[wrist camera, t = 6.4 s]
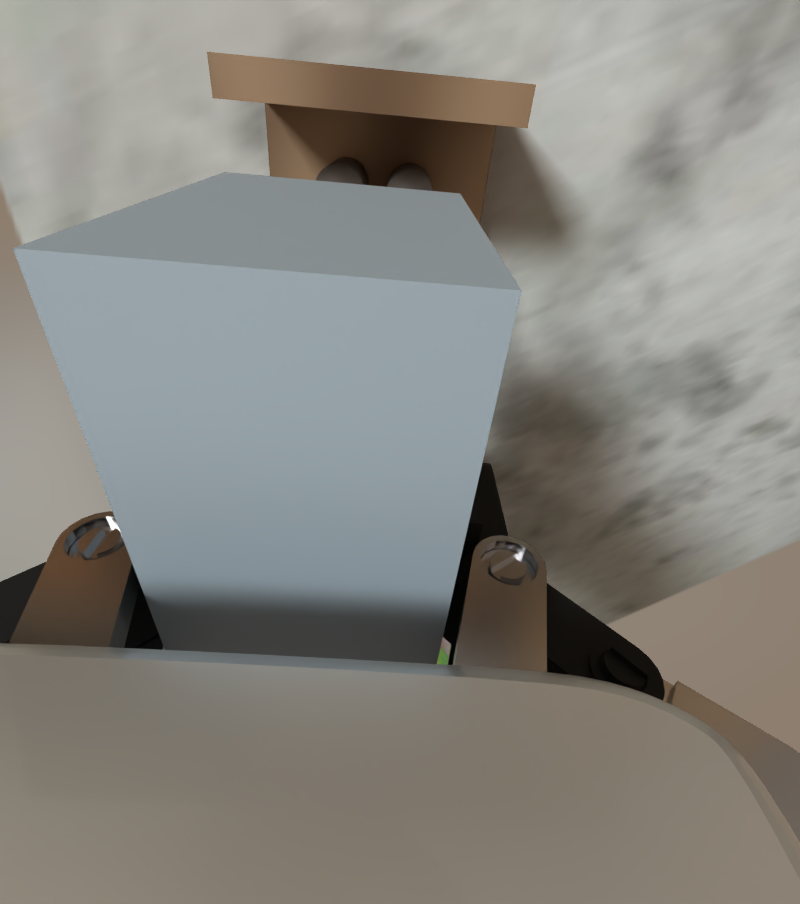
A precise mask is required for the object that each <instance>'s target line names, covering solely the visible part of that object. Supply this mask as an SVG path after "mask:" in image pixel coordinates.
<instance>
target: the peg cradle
mask: <svg viewBox="0 0 800 904" xmlns="http://www.w3.org/2000/svg"><path fill="white" fill-rule="evenodd" d="M207 55H208V63H209V71H210V79H211V87H212V95H213V98H219V99H229V100H240V101H250V102H260V103H265V110H266V124H267V138H268V152H269V166H270V176H272V177H283V178H294V179H305V180H316V181H327V182H338V183H349V184H360V185H371V186H382V187H393V188H404V189H415V190H426V191H438V192H449V193H460V194H461V196H462V197H463V199H464V200H465V202H466V204H467V205H468V207H469V208H470V210H471V211H472V213H473V215H474V216H475V218H476V219H477V221H478V222H479V224H480V220H481V213H482V207H483V201H484V195H485V189H486V183H487V177H488V170H489V164H490V158H491V152H492V146H493V140H494V134H495V127H496V125H499V126H509V127H520V128H528V122H529V117H530V112H531V107H532V102H533V97H534V92H535V87H536V85H534V84H524V83H514V82H504V81H494V80H484V79H474V78H464V77H454V76H444V75H434V74H424V73H414V72H404V71H394V70H384V69H374V68H364V67H354V66H344V65H334V64H324V63H314V62H304V61H294V60H284V59H274V58H264V57H254V56H244V55H234V54H224V53H214V52H207Z"/></svg>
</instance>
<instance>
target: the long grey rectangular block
mask: <svg viewBox="0 0 800 904" xmlns="http://www.w3.org/2000/svg"><path fill="white" fill-rule="evenodd" d="M13 249H14V252H15V255H16V257H17V260H18V262H19V265H20V268H21V271H22V273H23V276H24V278H25V281H26V284H27V286H28V289H29V291H30V294H31V297H32V300H33V302H34V305H35V308H36V310H37V313H38V316H39V318H40V321H41V323H42V326H43V329H44V331H45V334H46V337H47V339H48V342H49V345H50V347H51V350H52V353H53V355H54V358H55V360H56V363H57V366H58V368H59V371H60V374H61V376H62V379H63V382H64V384H65V387H66V389H67V392H68V395H69V397H70V400H71V403H72V405H73V408H74V411H75V413H76V416H77V419H78V421H79V424H80V427H81V429H82V432H83V434H84V437H85V440H86V442H87V445H88V448H89V450H90V453H91V456H92V458H93V461H94V463H95V466H96V469H97V472H98V474H99V477H100V479H101V482H102V485H103V487H104V490H105V493H106V495H107V498H108V500H109V503H110V506H111V508H112V511H113V514H114V516H115V519H116V522H117V524H118V527H119V530H120V532H121V535H122V538H123V540H124V543H125V546H126V548H127V551H128V553H129V556H130V559H131V561H132V564H133V567H134V569H135V572H136V575H137V577H138V580H139V583H140V585H141V588H142V590H143V593H144V596H145V598H146V601H147V604H148V606H149V609H150V612H151V614H152V617H153V620H154V622H155V625H156V627H157V630H158V633H159V635H160V638H161V641H162V643H163V646H164V649H165V650H179V651H199V652H219V653H239V654H259V655H278V656H297V657H316V658H336V659H354V660H371V661H389V662H407V663H424V664H437V660H438V656H439V652H440V647H441V643H442V638H443V634H444V630H445V625H446V621H447V616H448V612H449V608H450V603H451V599H452V594H453V590H454V586H455V581H456V577H457V573H458V568H459V564H460V559H461V555H462V551H463V546H464V542H465V537H466V533H467V529H468V524H469V520H470V515H471V511H472V507H473V502H474V498H475V493H476V489H477V485H478V480H479V476H480V471H481V467H482V463H483V458H484V454H485V449H486V445H487V441H488V436H489V432H490V427H491V423H492V419H493V414H494V410H495V405H496V401H497V397H498V392H499V388H500V383H501V379H502V375H503V370H504V366H505V361H506V357H507V353H508V348H509V344H510V339H511V335H512V331H513V326H514V322H515V317H516V313H517V309H518V304H519V300H520V295H521V291H522V290H521V289H520V287H519V286H518V284H517V282H516V281H515V279H514V278H513V276H512V275H511V273H510V271H509V270H508V268H507V267H506V265H505V263H504V262H503V260H502V259H501V257H500V256H499V254H498V252H497V251H496V249H495V248H494V246H493V245H492V243H491V241H490V240H489V238H488V237H487V235H486V234H485V232H484V230H483V229H482V227H481V226H480V224H479V222H478V221H477V219H476V218H475V216H474V215H473V213H472V211H471V210H470V208H469V207H468V205H467V204H466V202H465V200H464V199H463V197H462V196H461V194H460V193H449V192H438V191H426V190H415V189H404V188H393V187H382V186H371V185H360V184H349V183H338V182H327V181H316V180H305V179H294V178H283V177H272V176H261V175H250V174H239V173H228V172H224V173H221V174H218V175H216V176H213V177H210V178H207V179H205V180H202V181H199V182H196V183H193V184H191V185H188V186H185V187H182V188H180V189H177V190H174V191H171V192H168V193H166V194H163V195H160V196H157V197H154V198H152V199H149V200H146V201H143V202H141V203H138V204H135V205H132V206H129V207H127V208H124V209H121V210H118V211H115V212H113V213H110V214H107V215H104V216H102V217H99V218H96V219H93V220H90V221H88V222H85V223H82V224H79V225H77V226H74V227H71V228H68V229H65V230H63V231H60V232H57V233H54V234H51V235H49V236H46V237H43V238H40V239H38V240H35V241H32V242H29V243H26V244H24V245H21V246H18V247H15V248H13Z"/></svg>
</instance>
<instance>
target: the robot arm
mask: <svg viewBox="0 0 800 904" xmlns="http://www.w3.org/2000/svg"><path fill="white" fill-rule="evenodd" d="M443 637H444V638H445V639H446V640H447V641H448V642H449V643H450V649H449V655H448V660H447V665H442V664H424V663H407V662H389V661H371V660H354V659H336V658H316V657H297V656H278V655H259V654H239V653H219V652H199V651H179V650H165V649H164V646H163V643H162V641H161V638H160V635H159V633H158V630H157V627H156V625H155V622H154V620H153V617H152V614H151V612H150V609H149V606H148V604H147V601H146V598H145V596H144V593H143V590H142V588H141V585H140V583H139V580H138V577H137V575H136V572H135V569H134V567H133V564H132V561H131V559H130V556H129V553H128V551H127V548H126V546H125V543H124V540H123V538H122V535H121V532H120V530H119V527H118V524H117V522H116V519H115V516H114V514H113V511H112V512H111V511H109V512H102V513H97V514H94V515H91V516H88V517H85V518H83V519H81V520H79V521H77V522H75V523H74V524H72V525H70V526H69V527H68V528H67V529H66V530H65V531H63V532H62V533H61V535H60V536H59V537H58V539H57V540H56V542H55V544H54V546H53V548H52V551H51V553H50V555H49V557H48V559H47V562H45V563H42V564H40V565H38V566H36V567H33V568H31V569H29V570H27V571H24V572H22V573H19V574H17V575H15V576H13V577H10V578H8V579H6V580H3V581H1V582H0V904H800V753H798V752H797V751H796V750H794V749H793V748H792V747H790V746H789V745H787V744H785V743H783V742H782V741H780V740H778V739H776V738H775V737H773V736H771V735H770V734H768V733H766V732H764V731H763V730H761V729H759V728H758V727H756V726H754V725H753V724H751V723H749V722H747V721H746V720H744V719H742V718H740V717H739V716H737V715H735V714H733V713H732V712H730V711H728V710H727V709H725V708H723V707H722V706H720V705H718V704H716V703H715V702H713V701H711V700H710V699H708V698H706V697H704V696H703V695H701V694H699V693H697V692H696V691H694V690H692V689H691V688H689V687H687V686H685V685H684V684H681V683H680V682H679V681H677V682H676V684H675V685H674V686H673V685H671V684H670V683H668V682H666V681H665V680H663V679H662V677H661V675H660V673H659V670H658V668H657V667H656V666H655V665H654V663H653V662H652V661H651V659H650V658H649V657H648V656H647V655H646V654H644V653H643V652H642V651H641V650H640V649H639V648H637V647H636V646H635V645H633V644H632V643H630V642H629V641H627V640H626V639H625V638H623V637H622V636H621V635H619V634H618V633H616V632H615V631H614V630H612V629H611V628H609V627H608V626H606V625H605V624H604V623H602V622H601V621H599V620H598V619H597V618H595V617H594V616H592V615H591V614H590V613H588V612H587V611H585V610H584V609H583V608H581V607H580V606H578V605H577V604H575V603H574V602H573V601H571V600H570V599H568V598H567V597H566V596H564V595H563V594H561V593H560V592H559V591H557V590H556V589H554V588H553V587H552V586H550V585H549V584H547V575H546V566H545V562H544V560H543V558H542V557H541V555H540V553H538V552H537V551H536V550H535V549H534V548H533V547H532V546H531V545H529V544H528V543H526V542H524V541H523V540H520V539H517V538H514V537H511V536H508V532H507V528H506V524H505V520H504V516H503V512H502V507H501V503H500V499H499V495H498V491H497V487H496V482H495V478H494V474H493V470H492V467H491V465H490V464H488V463H482V467H481V471H480V476H479V480H478V485H477V489H476V493H475V498H474V502H473V507H472V511H471V515H470V520H469V524H468V529H467V533H466V537H465V542H464V546H463V551H462V555H461V559H460V564H459V568H458V573H457V577H456V581H455V586H454V590H453V594H452V599H451V603H450V608H449V612H448V616H447V621H446V625H445V630H444V634H443Z"/></svg>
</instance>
